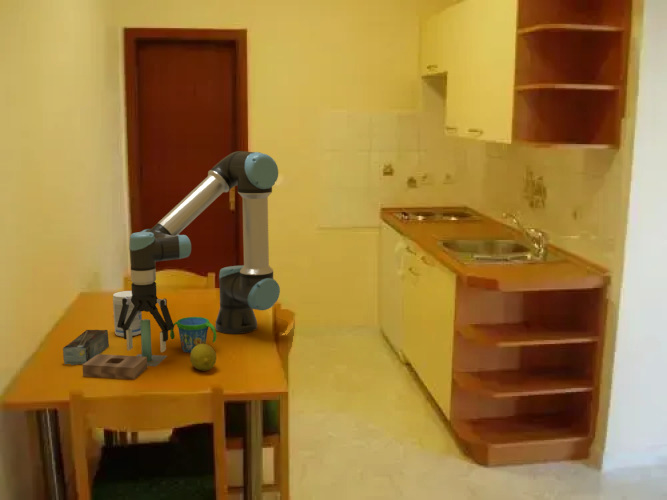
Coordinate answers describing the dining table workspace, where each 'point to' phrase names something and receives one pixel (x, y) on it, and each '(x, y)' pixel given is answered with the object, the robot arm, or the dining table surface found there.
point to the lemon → (203, 357)
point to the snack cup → (193, 332)
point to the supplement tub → (117, 310)
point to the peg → (146, 339)
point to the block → (115, 366)
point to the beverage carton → (85, 347)
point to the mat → (154, 359)
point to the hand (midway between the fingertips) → (146, 349)
